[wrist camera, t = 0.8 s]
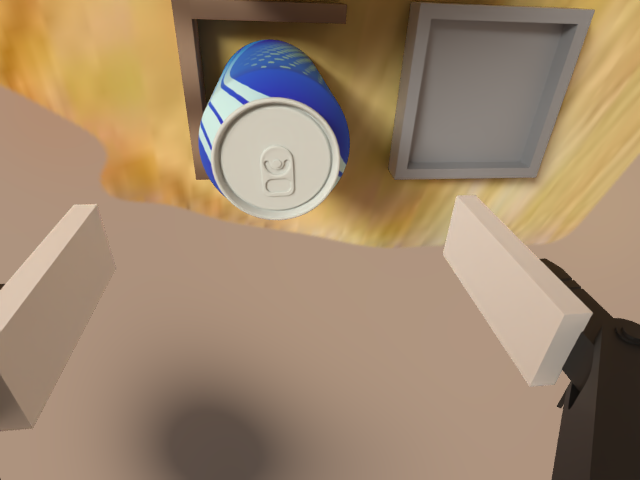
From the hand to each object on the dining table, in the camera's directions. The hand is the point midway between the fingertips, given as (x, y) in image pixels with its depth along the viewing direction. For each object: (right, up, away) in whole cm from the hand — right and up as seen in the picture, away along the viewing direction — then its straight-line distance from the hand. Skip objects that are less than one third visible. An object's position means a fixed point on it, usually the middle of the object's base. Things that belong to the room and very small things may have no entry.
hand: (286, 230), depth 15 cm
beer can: (-3, +12, +19) cm, 23 cm away
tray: (+15, +13, +21) cm, 29 cm away
